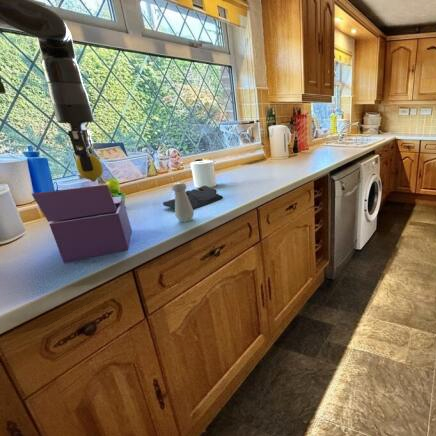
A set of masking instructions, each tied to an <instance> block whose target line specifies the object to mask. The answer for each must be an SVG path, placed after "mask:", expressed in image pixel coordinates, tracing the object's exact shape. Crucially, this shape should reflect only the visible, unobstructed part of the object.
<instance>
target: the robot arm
mask: <svg viewBox="0 0 436 436" xmlns="http://www.w3.org/2000/svg"><path fill="white" fill-rule="evenodd" d="M0 25H2V26H6V27H8V26H9V27H11V28H14V29H16V30H18V31H20V32H23V33H25V34H28V35H29V36H32V37H34V38H35V39H36V42H37V45H38V47H39V51H40V55H41V68H42V71H43V74H44V78H45V81H46V84H47V85H46V86H47V90H48V95H49V99H50V102H51V106H52V108H53V112H54V115H55V119H56V121H57V123H58V124H59V123H60V124H68V125H69V129H70V130H68V131H67V135H68V136H69V139H70V143H71V145H72V148H73V151H74V154H75V156H77V158H78V157H79V159H80V162H81V166H82V169H83V171H92V170H93V165H92V162H91V158H90V154H92V155H94V152H95V148H94V143H93V140H92V137H91V136H92V135H91V131H90V129H89V128H86V127H87V126H86V123H93V122H94V121H95V119H94V113H93V111H92V108H91V104H90V100H89V96H88V92H87V90H86V87H85V85H84V83H83V82H84V81H83V78H82V75H81V71H80V68H79V65H78V63H77V59H76V53H75V52H76V51H75V48H74V42H73V37H72V34H71V31H70V29H69V27H68V25H67V24H66V22H65V21H64V19H63V18H62V17H61V16H60V15H59V14H58V13H56V11H53V10H51V9H49V8H48V7H45V6H43V5H41V4H39V3H36V2H33V1H31V0H0Z"/></svg>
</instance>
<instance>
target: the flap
mask: <svg viewBox="0 0 436 436" xmlns="http://www.w3.org/2000/svg"><path fill="white" fill-rule="evenodd" d="M31 196H32V197H33V199H34V200H35V202H36V204H37V206H38V208H39V210H41V212H42V214H43V215H44V217H45V219H46V220H47V222H49V223H51V222H52V221H57V220H64V219H70V218H77V217H83V216H90V215H96V214H103V213H109V212H115V211H117V209H116V206H115V203H114V201H113V198H112V195H111V193H110V190H109V188H108V185H105V184H100V185H92V186H91V185H90V186H84V187H75V188H74V187H73V188H67V189H58V190H49V191H42V192H33V193H31Z"/></svg>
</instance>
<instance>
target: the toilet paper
mask: <svg viewBox="0 0 436 436" xmlns="http://www.w3.org/2000/svg"><path fill="white" fill-rule="evenodd" d="M190 169H191V174H192V179H193V186H194V188H195V187H197V188H196V189H198V188H200V187H202V186H207V187H210V188H213V187H216V186H217V185H218V184H217V178H216V172H215V166H214V161H213V160H197V161H196V160H195V161H192V162H190Z"/></svg>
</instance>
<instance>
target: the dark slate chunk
mask: <svg viewBox="0 0 436 436" xmlns="http://www.w3.org/2000/svg"><path fill="white" fill-rule="evenodd" d="M185 192H186V194H187V196H188V199H189V201H190V204H191V206H192V209H193V210H196V209H198V208H200V207H203V206H204V207H205V206H206V205H210V204H211V203H214V202H217V201H219V200H221V199H223V197H224V196H223V195H220V194H219V193H217V192H218V191H217V189H215V188H213V187H207V186H202V187H200V188H193V189H190V190H189V189H188V190H185ZM162 205H163V206H164V207H167V208H173V209H175V198H173V199H169V200H166V201H163V202H162Z"/></svg>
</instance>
